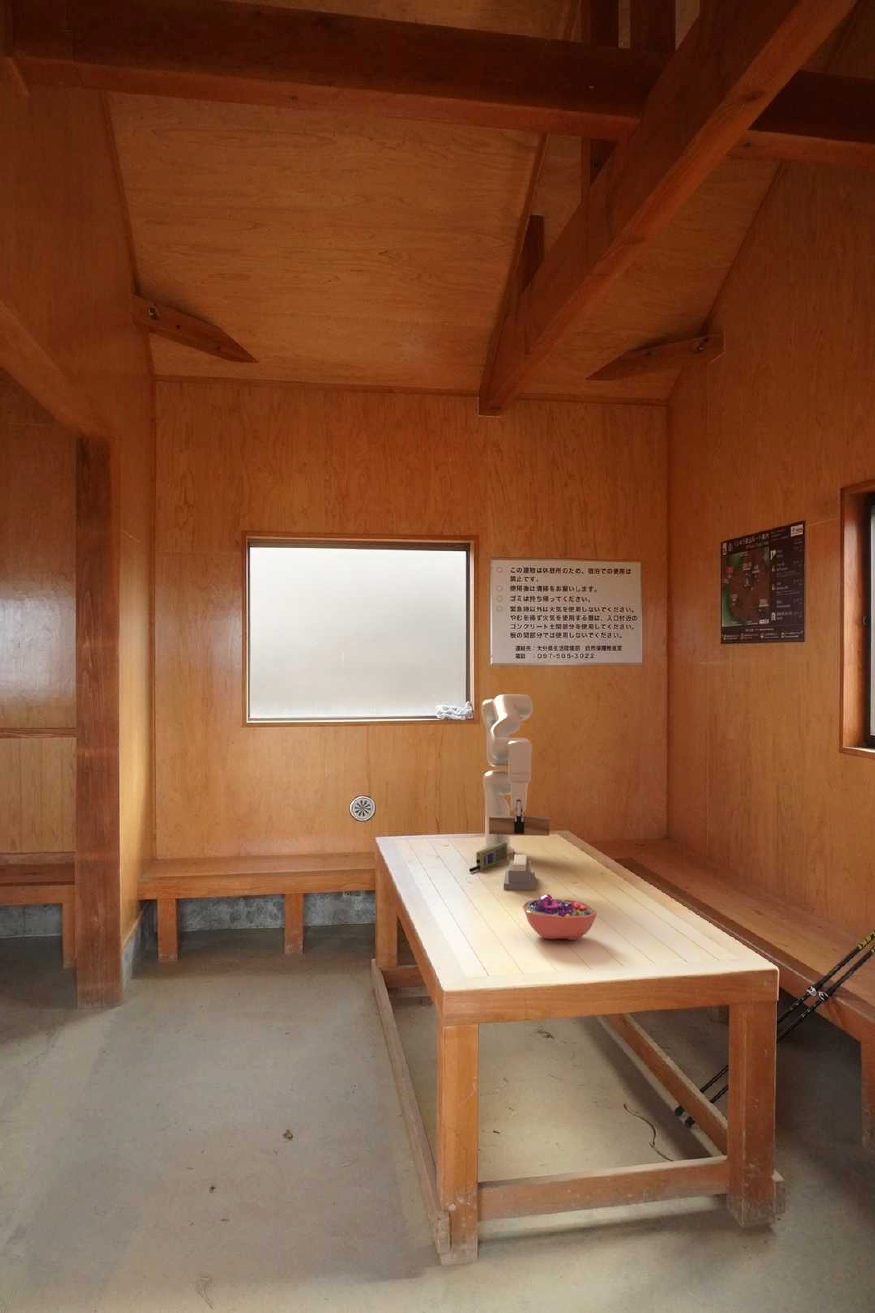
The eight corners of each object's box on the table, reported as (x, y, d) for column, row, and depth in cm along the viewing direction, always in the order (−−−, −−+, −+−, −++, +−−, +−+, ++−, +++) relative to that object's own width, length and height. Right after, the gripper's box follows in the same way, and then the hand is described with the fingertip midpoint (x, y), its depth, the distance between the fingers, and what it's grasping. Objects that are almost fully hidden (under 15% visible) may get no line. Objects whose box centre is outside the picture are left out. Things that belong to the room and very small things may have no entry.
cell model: (584, 954, 210) (584, 910, 210) (512, 941, 219) (512, 898, 219) (605, 935, 224) (605, 893, 224) (536, 923, 234) (536, 883, 234)
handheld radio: (509, 860, 309) (475, 874, 288) (501, 859, 311) (467, 873, 290) (508, 842, 309) (474, 855, 288) (500, 841, 311) (466, 854, 290)
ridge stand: (506, 876, 284) (506, 853, 284) (535, 877, 283) (535, 854, 283) (503, 889, 269) (503, 865, 269) (534, 890, 267) (534, 866, 267)
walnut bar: (489, 831, 279) (489, 815, 279) (549, 833, 276) (549, 817, 276) (489, 834, 276) (489, 817, 276) (549, 835, 273) (549, 819, 273)
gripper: (509, 773, 285) (509, 827, 285) (507, 780, 268) (506, 837, 268) (531, 774, 284) (531, 827, 284) (530, 781, 267) (530, 838, 267)
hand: (519, 831), depth 276 cm, fingers closed on walnut bar, 3 cm apart
